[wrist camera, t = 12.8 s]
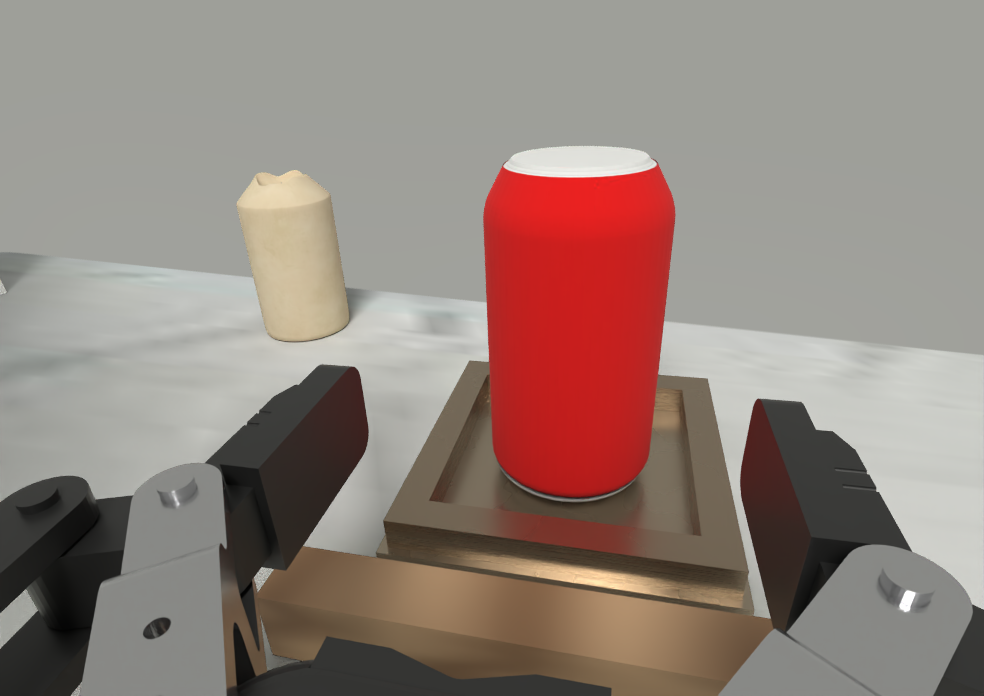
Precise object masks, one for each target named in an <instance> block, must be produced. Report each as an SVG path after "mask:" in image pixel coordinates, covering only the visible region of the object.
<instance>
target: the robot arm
mask: <svg viewBox="0 0 984 696" xmlns="http://www.w3.org/2000/svg"><path fill="white" fill-rule="evenodd" d="M368 433H369V432H368V422H367V416H366V409H365V403H364V397H363V391H362V384H361V378H360V374H359V372H358V370H357V369H356V368H355V367H349V366H336V365H319V366H318V367H316V368H315V369H314V370H313V371H312V372H311V373H310V374H309V375H308V376H307V377H306V378H305V379H304V380H303V381H302V382H301V383H300V384H299V385H294V386H292V387H291V388H289V389H287V390H285V391H283V392H281V393H279V394H278V395H276V396H274V397H273V398H272V399H271V400H270V401H269V402H268V403H267V404H266V405H265V406H264V407H263V408H262V409H260V410H259V414H257V413H256V414H255V415H254V416H253V417H252V418H251V419H250V420H249V421H248V422H247V426H246V425H244V426H243V427H242V428H241V429H240V430H239V431H238V432H237V433H236V434H235V435H233V436H232V437H231V438H230V439H229V440H228V441H227V442H226V443H225V444H224V445H223V446H222V447H221V448H220V449H219V450H218V451H217V452H216V453H215V454H214V455H213V456H212V457H211V458H210V459H209V460H207V461H206V462H205V463H191V464H184V465H180V466H176V467H173V468H170V469H168V470H165V471H163V472H161V473H159V474H157V475H155V476H153V477H152V478H150V479H149V480H147V481H146V482H145V483H144V484H143V485H141V486H140V487H139V488H138V490H137V491H136V492H135V494H134V495H133V496H124V497H115V498H107V499H98V500H95V498H94V496H93V494H92V491H91V489H90V487H89V485H88V483H87V481H86V480H84V479H83V478H80V477H76V476H60V477H54V478H50V479H46V480H42V481H39V482H36V483H34V484H31V485H29V486H26V487H24V488H22V489H20V490H18V491H17V492H15V493H13V494H11V495H10V496H8V497H7V498H6V499H4V500H3V501H1V502H0V613H1V612H2V611H3V610H4V609H5V608H6V607H7V606H8V605H9V604H10V603H11V602H12V601H13V600H15V599H16V598H17V597H18V596H19V595H20V594H21V593H22V592H23V591H24V590H25V589H26V590H27V592H28V593H29V595H30V597H31V599H32V600H33V602H34V604H35V606H36V607H37V609H38V611H37V612H36V613H35V614H34V615H33V616H32V617H31V618H30V619H29V620H28V621H27V622H26V623H25V625H24V626H23V627H22V628H21V629H20V630H19V631H18V632H17V633H16V634H15V635H14V636H13V637H12V638H11V639H10V640H9V641H8V642H7V643H6V644H5V645H4V646H3V647H2V648H1V649H0V696H71V694H72V693H73V692H74V691H75V689H76V688H77V687H78V686H79V684H80V683H81V682H82V685H81V690H80V696H611V692H612V688H609V687H604V686H598V685H593V684H587V683H582V682H576V681H571V680H565V679H559V678H554V677H548V676H543V675H537V674H532V675H518V676H503V677H489V678H474V679H456V678H452V677H450V676H448V675H445V674H443V673H441V672H439V671H437V670H435V669H433V668H431V667H429V666H427V665H425V664H423V663H421V662H419V661H417V660H415V659H413V658H411V657H409V656H407V655H404V654H402V653H400V652H398V651H396V650H394V649H392V648H388V647H383V646H377V645H372V644H366V643H361V642H355V641H350V640H344V639H339V638H333V637H328V636H326V638H325V640H324V642H323V644H322V646H321V648H320V649H319V651H318V653H317V655H316V657H315V659H314V660H306V661H301V662H296V663H291V664H288V665H284V666H281V667H278V668H275V669H272V670H270V671H267V666H266V659H265V651H264V642H263V634H262V626H261V618H260V610H259V602H258V594H257V588H256V584H255V581H254V577H255V575H256V574H257V572H258V571H259V570H260V568H261V567H265V568H271V569H278V570H284V571H286V570H287V569H288V567H289V566H290V564H291V563H292V561H293V560H294V558H295V557H296V555H297V554H298V552H299V551H300V549H301V548H302V546H303V545H304V543H305V542H306V540H307V539H308V537H309V536H310V534H311V533H312V531H313V530H314V528H315V527H316V525H317V524H318V522H319V521H320V519H321V518H322V516H323V515H324V513H325V512H326V510H327V509H328V507H329V506H330V504H331V503H332V501H333V500H334V498H335V497H336V495H337V494H338V492H339V491H340V489H341V488H342V486H343V485H344V483H345V482H346V480H347V479H348V477H349V476H350V474H351V473H352V471H353V470H354V468H355V467H356V465H357V464H358V462H359V461H360V459H361V458H362V456H363V455H364V452H365V450H366V447H367V442H368ZM740 487H741V497H742V502H743V506H744V510H745V514H746V518H747V522H748V526H749V531H750V535H751V539H752V543H753V547H754V551H755V555H756V559H757V563H758V567H759V572H760V576H761V580H762V584H763V588H764V592H765V596H766V600H767V604H768V609H769V613H770V617H771V621H772V625H773V629H774V630H772V631H771V632H770V633H769V634H768V635H767V636H766V637H765V638H764V640H763V641H762V642H761V643H760V644H759V646H758V647H757V648H756V649H755V651H754V652H753V653H752V654H751V655H750V657H749V658H748V659H747V660H746V662H745V663H744V664H743V665H742V666H741V668H740V669H739V670H738V671H737V673H736V674H735V675H734V676H733V677H732V679H731V680H730V681H729V682H728V684H727V685H726V686H725V687H724V688H723V690H722V691H721V692H720V693H719V695H718V696H984V610H983V609H981V608H979V607H976V606H974V605H972V603H971V600H970V598H969V596H968V594H967V592H966V591H965V589H964V588H963V587H962V586H961V584H960V583H959V582H958V581H957V580H956V579H955V578H954V577H953V576H952V575H951V574H949V573H948V572H947V571H946V570H944V569H943V568H942V567H940V566H938V565H937V564H935V563H934V562H932V561H930V560H928V559H927V558H925V557H923V556H920V555H918V554H916V553H914V552H912V551H911V549H910V547H909V545H908V543H907V542H906V540H905V538H904V536H903V534H902V533H901V531H900V529H899V527H898V525H897V524H896V522H895V520H894V518H893V517H892V515H891V513H890V511H889V509H888V508H887V506H886V504H885V502H884V500H883V499H882V497H881V495H880V493H879V492H876V486H875V484H874V482H873V481H872V479H871V477H870V475H867V470H866V468H865V466H864V465H863V463H862V461H861V459H860V457H859V456H858V454H857V452H856V450H855V449H853V448H852V447H851V446H850V445H849V444H847V443H846V442H845V441H844V440H843V439H841V438H840V437H839V436H838V435H836V434H835V433H834V432H833V431H821V430H816V429H815V427H814V425H813V423H812V421H811V419H810V417H809V414H808V412H807V410H806V408H805V406H804V405H803V403H802V402H795V401H782V400H769V399H757V400H756V401H755V404H754V406H753V410H752V415H751V420H750V425H749V430H748V436H747V441H746V446H745V451H744V456H743V461H742V466H741V477H740Z"/></svg>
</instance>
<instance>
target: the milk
mask: <svg viewBox="0 0 984 696" xmlns="http://www.w3.org/2000/svg"><path fill="white" fill-rule="evenodd" d="M4 293H7V292H6V290H5V288H4V286H3V284H2V282H1V280H0V295H1V294H4Z"/></svg>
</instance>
